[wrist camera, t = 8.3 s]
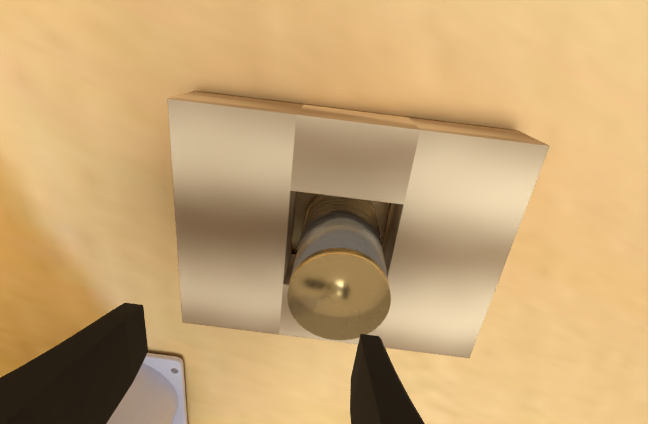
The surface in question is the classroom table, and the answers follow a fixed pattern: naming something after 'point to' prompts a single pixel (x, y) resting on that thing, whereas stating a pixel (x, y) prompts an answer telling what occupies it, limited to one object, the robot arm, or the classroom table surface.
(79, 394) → the robot arm
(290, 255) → the block
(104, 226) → the classroom table surface
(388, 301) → the pin
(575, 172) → the classroom table surface
